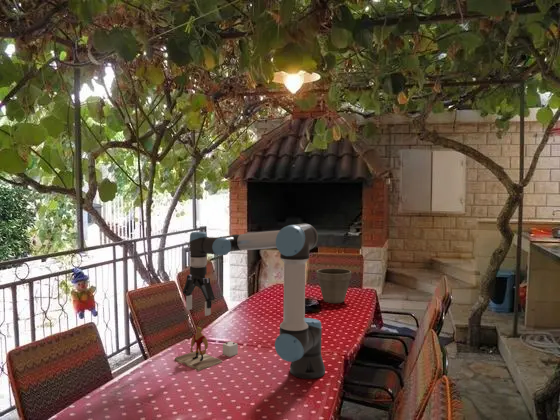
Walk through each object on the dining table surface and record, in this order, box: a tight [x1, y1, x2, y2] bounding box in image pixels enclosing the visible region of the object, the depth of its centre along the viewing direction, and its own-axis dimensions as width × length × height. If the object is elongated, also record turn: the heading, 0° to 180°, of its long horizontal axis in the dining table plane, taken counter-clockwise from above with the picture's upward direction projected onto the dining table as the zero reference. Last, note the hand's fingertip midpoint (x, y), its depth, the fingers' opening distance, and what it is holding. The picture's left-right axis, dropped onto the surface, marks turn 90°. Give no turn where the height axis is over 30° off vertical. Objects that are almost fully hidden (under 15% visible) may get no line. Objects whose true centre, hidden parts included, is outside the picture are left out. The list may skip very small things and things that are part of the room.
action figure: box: [189, 326, 209, 361], centre depth 203 cm, size 10×4×15 cm, turn 61°
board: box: [174, 350, 223, 372], centre depth 203 cm, size 18×13×1 cm
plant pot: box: [316, 267, 352, 304], centre depth 316 cm, size 25×25×22 cm
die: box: [222, 341, 239, 358], centre depth 212 cm, size 5×5×6 cm
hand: (198, 312), depth 202 cm, fingers open, 13 cm apart
